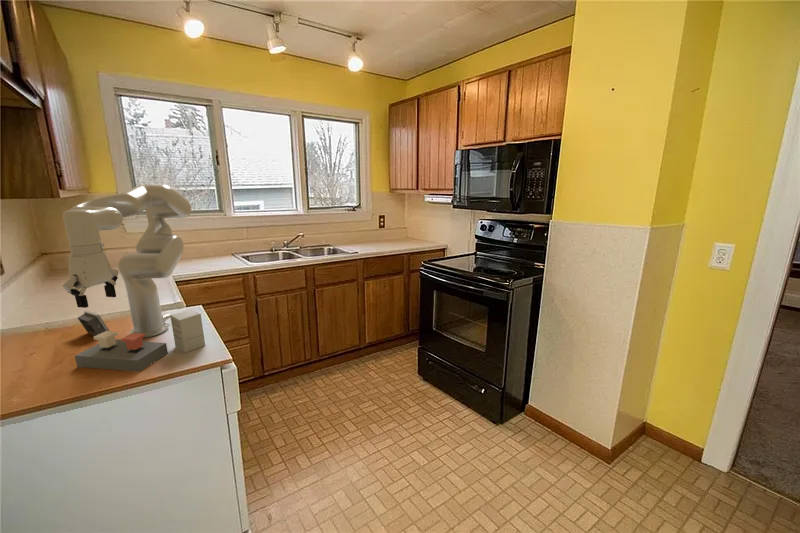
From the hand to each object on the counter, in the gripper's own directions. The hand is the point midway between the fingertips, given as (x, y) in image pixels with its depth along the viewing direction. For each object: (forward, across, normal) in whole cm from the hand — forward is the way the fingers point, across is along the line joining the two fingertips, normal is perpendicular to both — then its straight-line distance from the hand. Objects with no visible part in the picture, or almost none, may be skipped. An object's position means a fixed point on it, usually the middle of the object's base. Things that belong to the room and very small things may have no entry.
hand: (97, 301), depth 113 cm
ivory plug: (+16, 0, 0) cm, 16 cm away
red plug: (+16, 0, +10) cm, 19 cm away
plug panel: (+21, 0, +5) cm, 21 cm away
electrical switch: (+21, -16, -22) cm, 34 cm away
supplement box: (+21, -12, +20) cm, 31 cm away
